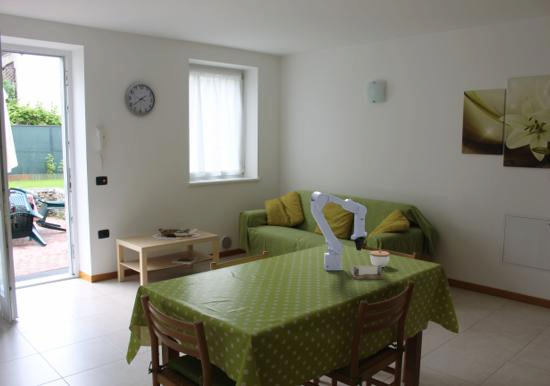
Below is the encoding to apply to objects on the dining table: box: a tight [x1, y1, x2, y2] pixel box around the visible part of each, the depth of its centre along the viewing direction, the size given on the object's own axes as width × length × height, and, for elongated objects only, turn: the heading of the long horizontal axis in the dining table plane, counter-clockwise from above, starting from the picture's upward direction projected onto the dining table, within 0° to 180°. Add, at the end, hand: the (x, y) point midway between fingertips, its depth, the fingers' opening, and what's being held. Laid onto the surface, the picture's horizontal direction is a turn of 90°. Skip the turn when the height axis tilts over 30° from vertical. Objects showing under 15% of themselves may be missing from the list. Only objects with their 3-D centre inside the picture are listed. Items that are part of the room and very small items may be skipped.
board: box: [348, 268, 384, 280], centre depth 256 cm, size 15×15×5 cm
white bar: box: [353, 265, 383, 275], centre depth 252 cm, size 14×2×4 cm, turn 92°
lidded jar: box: [369, 249, 390, 268], centre depth 274 cm, size 11×11×9 cm
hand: (358, 250), depth 272 cm, fingers closed
